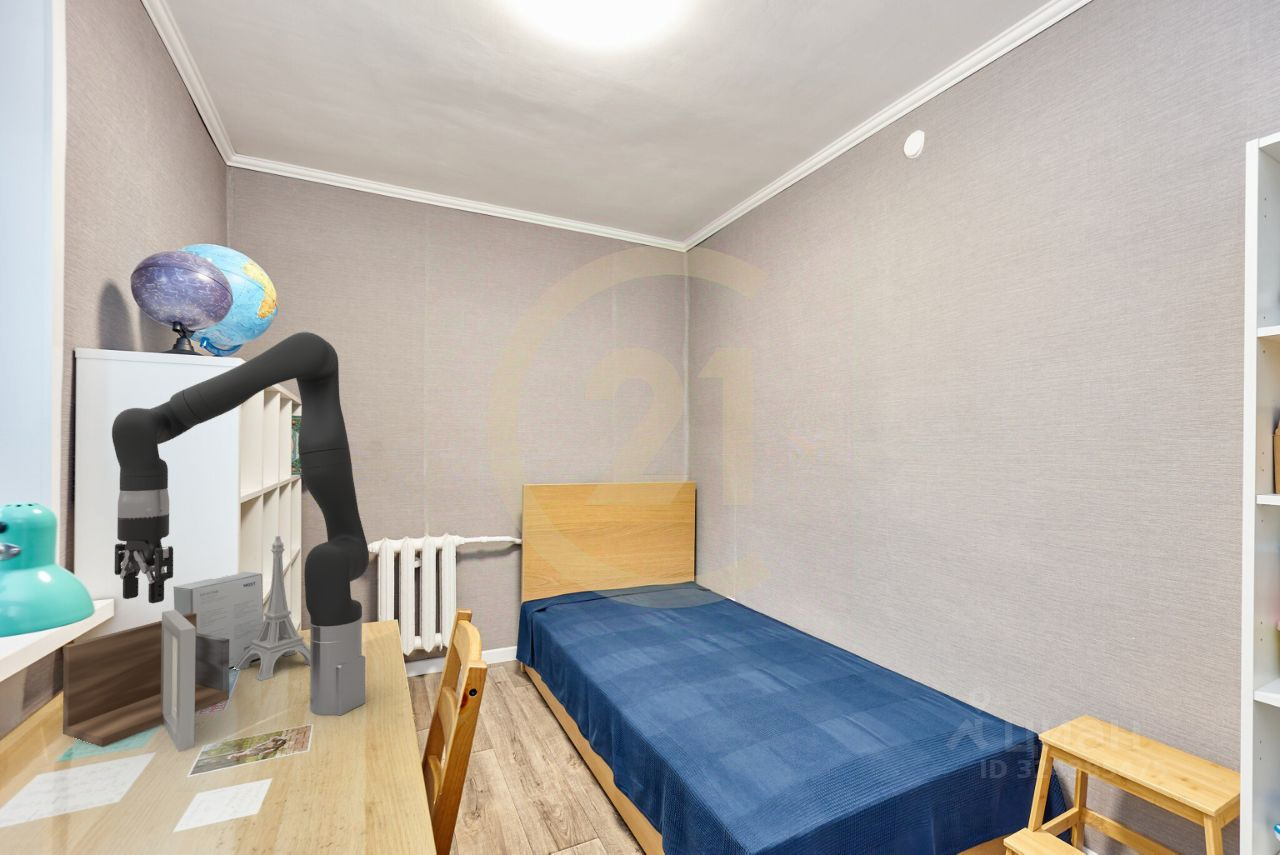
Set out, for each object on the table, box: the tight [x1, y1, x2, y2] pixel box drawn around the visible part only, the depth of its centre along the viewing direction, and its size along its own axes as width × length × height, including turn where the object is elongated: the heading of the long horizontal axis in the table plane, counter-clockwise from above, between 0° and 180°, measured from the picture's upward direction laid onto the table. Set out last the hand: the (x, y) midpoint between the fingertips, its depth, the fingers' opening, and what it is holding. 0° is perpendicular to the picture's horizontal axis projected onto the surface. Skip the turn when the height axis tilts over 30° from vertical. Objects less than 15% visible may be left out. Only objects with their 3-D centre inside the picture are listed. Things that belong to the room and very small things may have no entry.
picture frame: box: [161, 609, 196, 752], centre depth 106 cm, size 16×3×21 cm, turn 48°
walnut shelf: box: [62, 613, 230, 748], centre depth 112 cm, size 12×21×16 cm, turn 158°
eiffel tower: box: [233, 535, 310, 682], centre depth 137 cm, size 13×13×30 cm
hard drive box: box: [172, 571, 264, 669], centre depth 136 cm, size 16×8×20 cm, turn 152°
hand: (143, 600), depth 112 cm, fingers open, 7 cm apart
